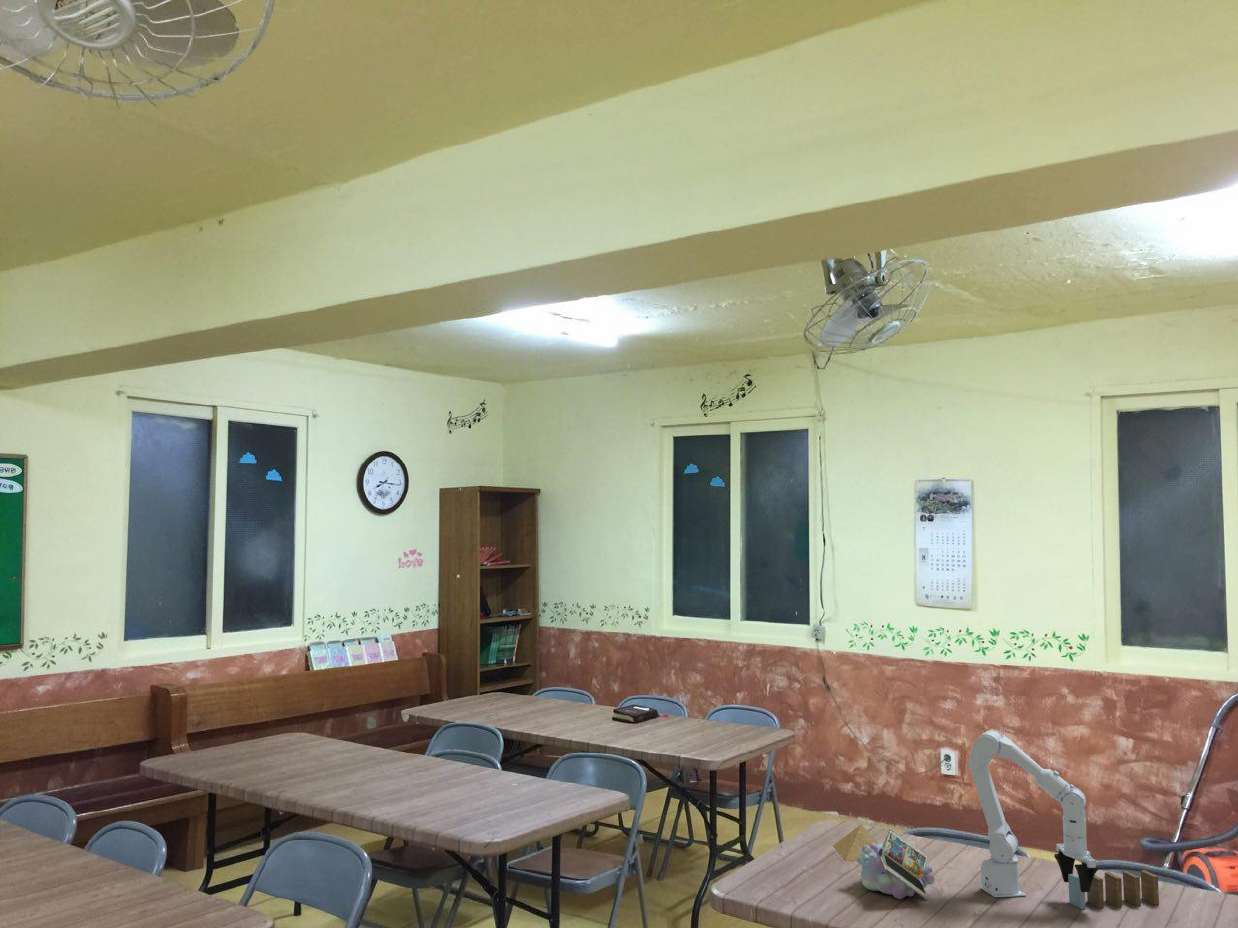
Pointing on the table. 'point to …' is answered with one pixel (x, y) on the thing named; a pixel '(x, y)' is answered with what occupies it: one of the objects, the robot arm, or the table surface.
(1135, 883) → the domino
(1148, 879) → the domino
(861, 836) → the model pyramid
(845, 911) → the table surface
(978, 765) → the robot arm
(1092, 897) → the domino
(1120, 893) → the domino
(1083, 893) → the domino
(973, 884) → the table surface
